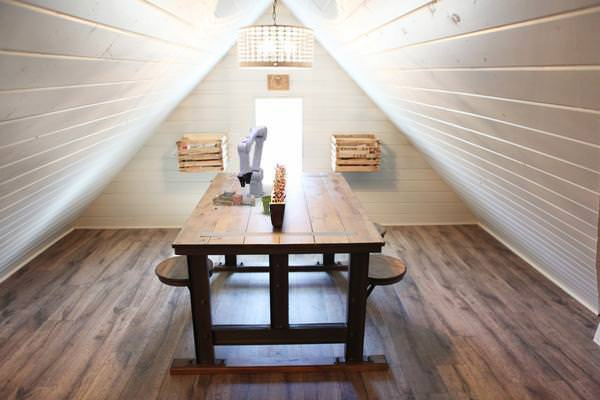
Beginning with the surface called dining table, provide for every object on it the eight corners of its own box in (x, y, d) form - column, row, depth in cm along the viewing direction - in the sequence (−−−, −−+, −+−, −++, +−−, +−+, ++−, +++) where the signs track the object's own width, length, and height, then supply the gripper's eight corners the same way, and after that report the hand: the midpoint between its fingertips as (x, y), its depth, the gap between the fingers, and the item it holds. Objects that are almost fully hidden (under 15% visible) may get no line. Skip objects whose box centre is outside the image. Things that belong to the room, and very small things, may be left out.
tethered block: (235, 203, 270) (235, 193, 268) (256, 204, 267) (255, 194, 265) (232, 205, 266) (232, 195, 264) (253, 206, 263) (253, 196, 261)
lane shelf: (224, 197, 282) (224, 191, 281) (241, 198, 279) (241, 192, 278) (213, 204, 267) (212, 198, 266) (230, 206, 264) (230, 199, 263)
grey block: (229, 198, 279) (228, 190, 277) (236, 199, 278) (235, 190, 276) (226, 200, 275) (225, 192, 273) (233, 201, 274) (232, 192, 272)
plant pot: (274, 215, 247) (273, 200, 244) (258, 214, 250) (257, 199, 247) (280, 210, 255) (280, 196, 253) (265, 209, 258) (264, 194, 256)
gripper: (246, 166, 257) (247, 189, 260) (255, 161, 270) (256, 183, 274) (234, 165, 258) (235, 188, 262) (244, 160, 272) (245, 182, 276)
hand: (245, 185), depth 268 cm, fingers open, 7 cm apart
